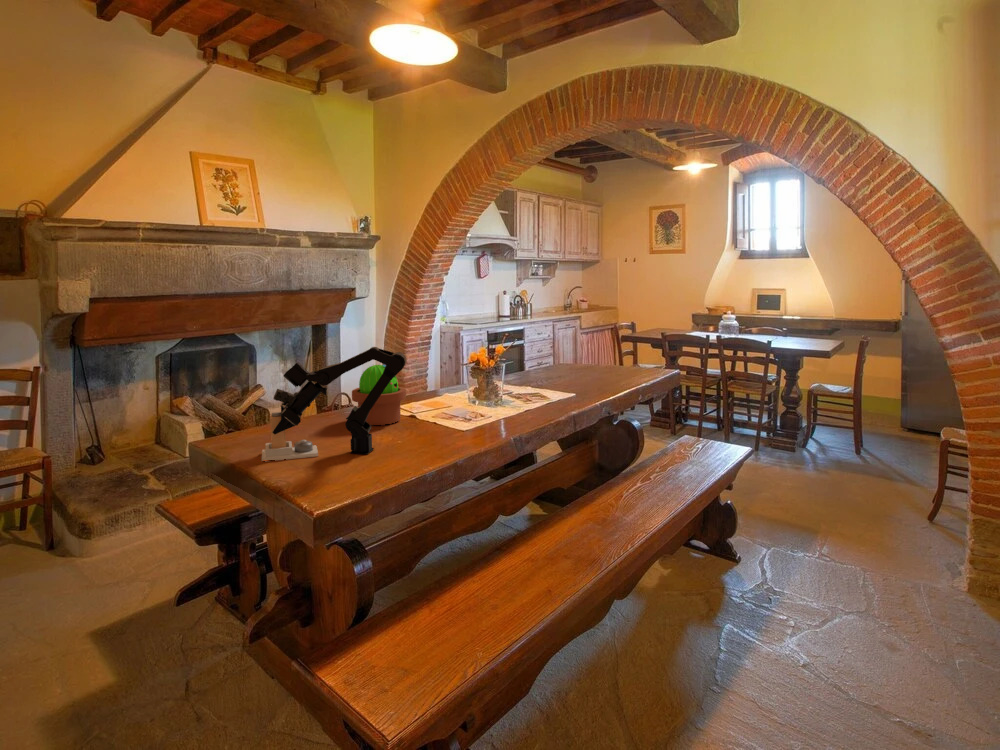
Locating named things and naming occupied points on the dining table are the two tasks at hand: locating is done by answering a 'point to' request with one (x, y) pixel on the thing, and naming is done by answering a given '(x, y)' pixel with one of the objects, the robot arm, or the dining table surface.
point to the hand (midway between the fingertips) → (273, 430)
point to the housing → (290, 451)
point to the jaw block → (279, 438)
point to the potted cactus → (388, 401)
